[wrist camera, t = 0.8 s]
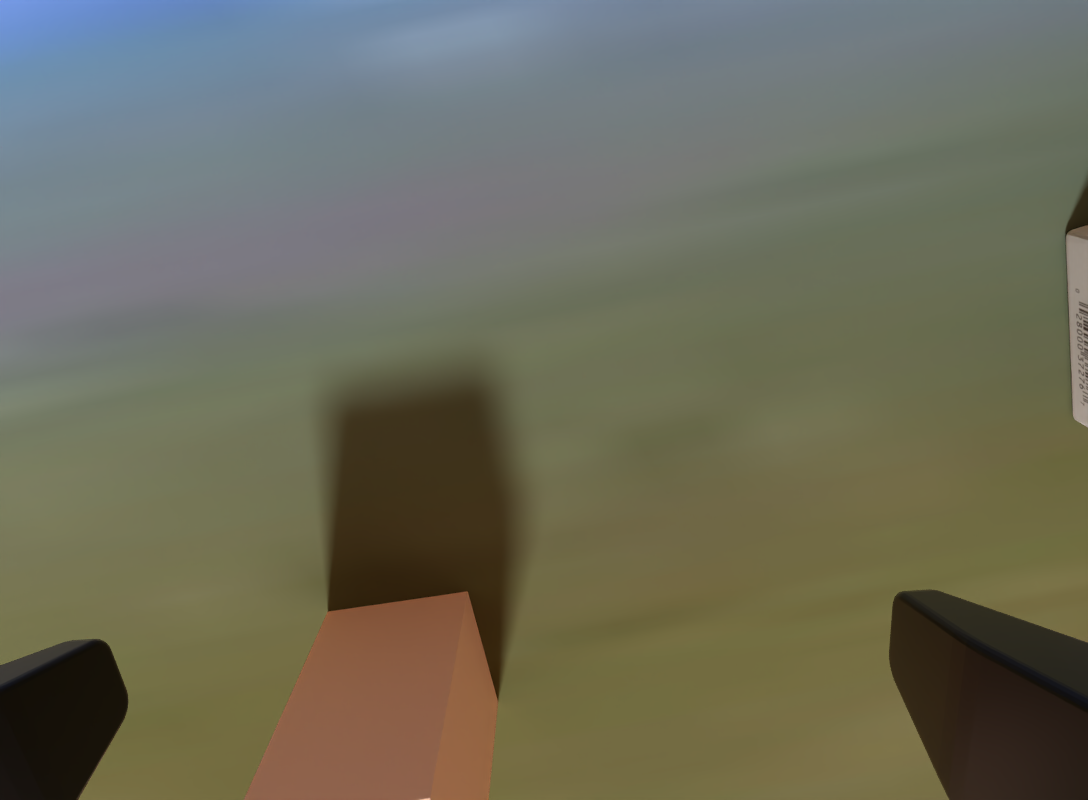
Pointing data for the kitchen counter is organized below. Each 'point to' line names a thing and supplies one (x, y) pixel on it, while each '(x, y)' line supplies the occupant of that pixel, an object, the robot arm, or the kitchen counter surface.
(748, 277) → the kitchen counter surface
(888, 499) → the kitchen counter surface
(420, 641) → the terracotta block
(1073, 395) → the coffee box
